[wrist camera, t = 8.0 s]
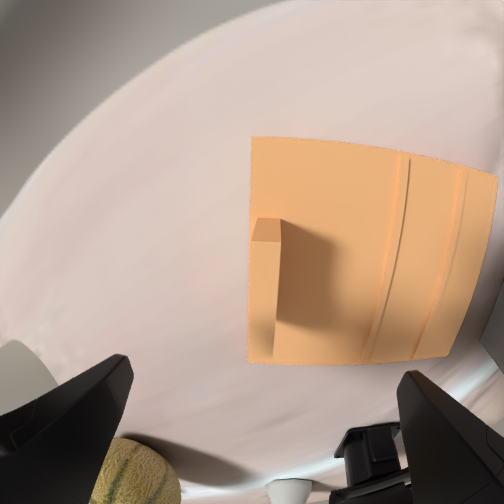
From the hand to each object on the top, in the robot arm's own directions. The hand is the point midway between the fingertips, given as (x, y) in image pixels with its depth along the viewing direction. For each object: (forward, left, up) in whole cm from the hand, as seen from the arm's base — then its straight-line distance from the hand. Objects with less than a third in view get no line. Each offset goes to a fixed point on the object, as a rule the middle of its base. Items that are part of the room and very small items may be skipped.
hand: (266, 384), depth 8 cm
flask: (-36, -5, -10) cm, 38 cm away
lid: (0, -7, -10) cm, 12 cm away
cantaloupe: (-29, +16, -10) cm, 35 cm away
